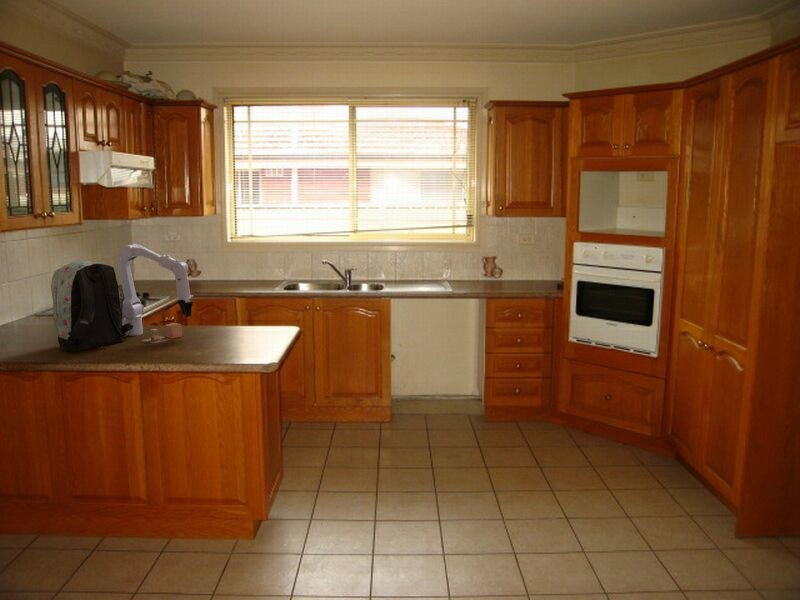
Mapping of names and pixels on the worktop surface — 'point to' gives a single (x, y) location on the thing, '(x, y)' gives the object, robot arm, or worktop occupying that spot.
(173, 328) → the pink rectangular block
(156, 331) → the post
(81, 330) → the backpack
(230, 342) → the worktop surface
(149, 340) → the board
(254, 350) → the worktop surface
